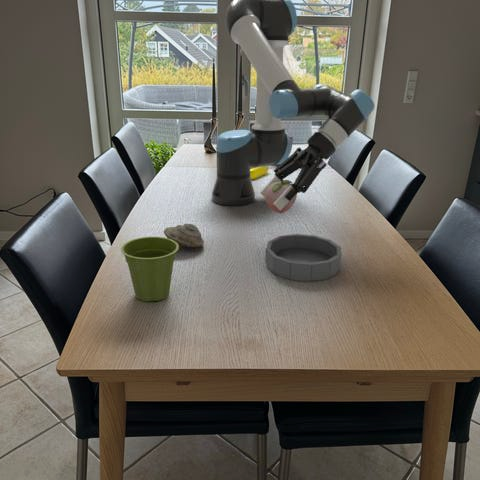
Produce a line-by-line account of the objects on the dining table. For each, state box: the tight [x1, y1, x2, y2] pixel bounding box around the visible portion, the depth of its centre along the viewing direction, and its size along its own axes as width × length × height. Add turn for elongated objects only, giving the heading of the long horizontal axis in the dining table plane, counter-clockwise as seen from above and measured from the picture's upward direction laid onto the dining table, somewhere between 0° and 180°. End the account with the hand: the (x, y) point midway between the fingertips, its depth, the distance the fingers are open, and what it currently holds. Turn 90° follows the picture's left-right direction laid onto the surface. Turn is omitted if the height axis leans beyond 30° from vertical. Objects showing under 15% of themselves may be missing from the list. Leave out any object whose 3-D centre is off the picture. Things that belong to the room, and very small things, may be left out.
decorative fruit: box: [264, 179, 298, 214], centre depth 129 cm, size 9×8×10 cm
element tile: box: [250, 166, 269, 181], centre depth 197 cm, size 15×15×5 cm
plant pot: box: [120, 236, 180, 302], centre depth 99 cm, size 12×12×11 cm
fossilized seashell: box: [163, 223, 205, 248], centre depth 125 cm, size 11×11×7 cm
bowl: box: [264, 233, 342, 283], centre depth 115 cm, size 18×18×4 cm
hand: (269, 201), depth 128 cm, fingers closed on decorative fruit, 9 cm apart
